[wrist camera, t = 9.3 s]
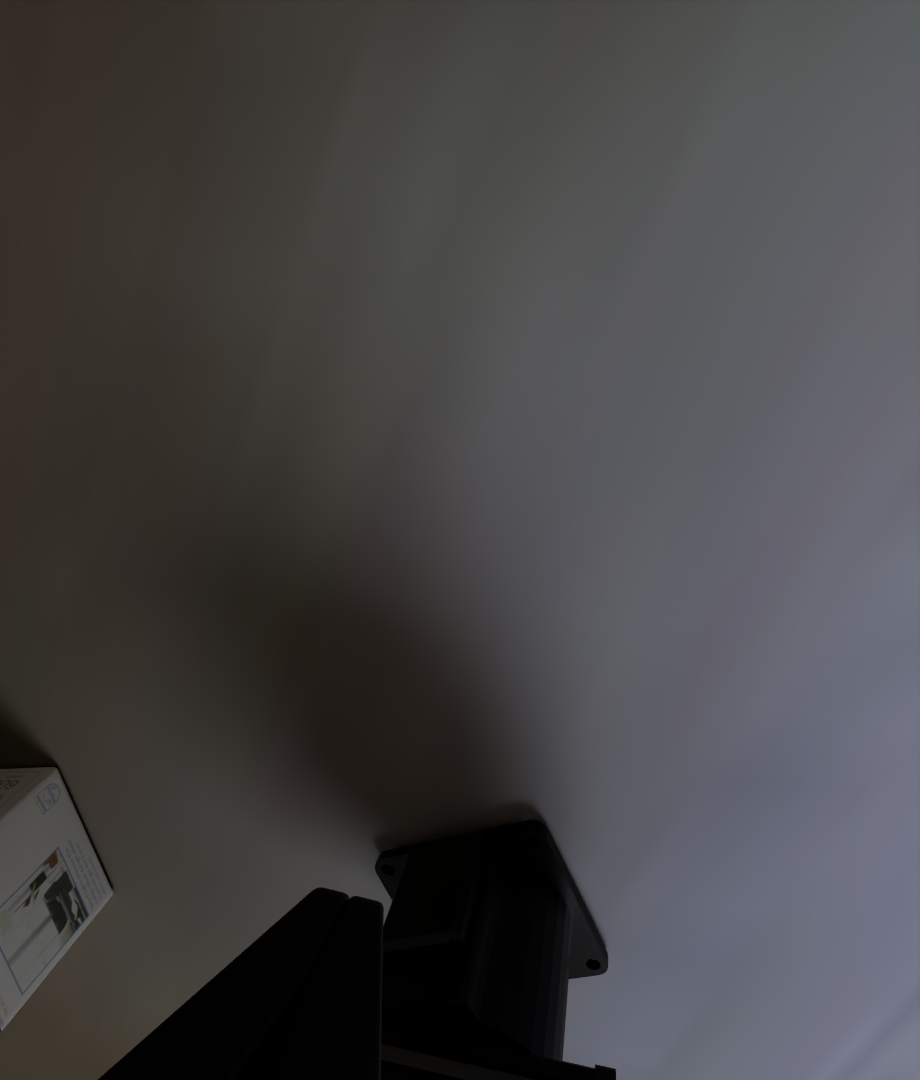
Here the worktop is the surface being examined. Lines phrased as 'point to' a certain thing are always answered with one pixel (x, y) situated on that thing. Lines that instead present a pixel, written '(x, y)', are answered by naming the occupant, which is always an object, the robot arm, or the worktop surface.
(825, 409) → the worktop surface
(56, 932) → the light bulb box
